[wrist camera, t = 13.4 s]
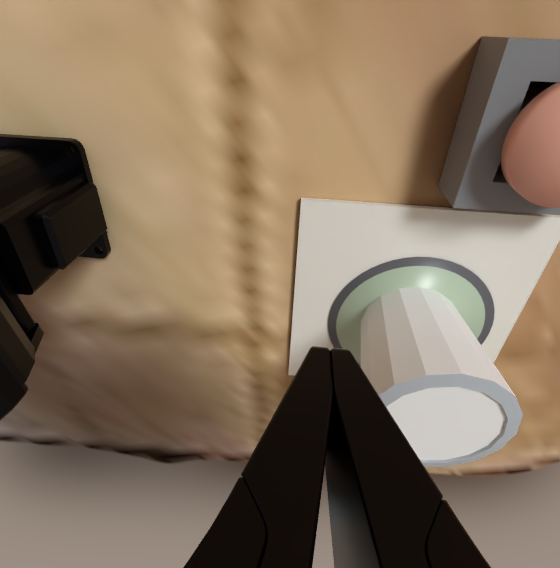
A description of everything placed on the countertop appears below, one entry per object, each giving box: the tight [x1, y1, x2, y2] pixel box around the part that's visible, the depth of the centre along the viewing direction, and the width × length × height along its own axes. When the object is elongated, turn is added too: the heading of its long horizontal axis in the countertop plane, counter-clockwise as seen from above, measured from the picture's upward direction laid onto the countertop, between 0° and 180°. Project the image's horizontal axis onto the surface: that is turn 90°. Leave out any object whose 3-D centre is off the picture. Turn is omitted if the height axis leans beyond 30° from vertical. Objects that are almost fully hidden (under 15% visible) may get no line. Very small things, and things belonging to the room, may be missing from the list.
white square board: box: [288, 197, 560, 376], centre depth 22 cm, size 13×13×1 cm
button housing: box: [438, 36, 560, 215], centre depth 15 cm, size 6×6×2 cm
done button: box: [501, 81, 560, 208], centre depth 14 cm, size 4×4×4 cm
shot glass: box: [361, 287, 523, 467], centre depth 19 cm, size 7×7×7 cm
